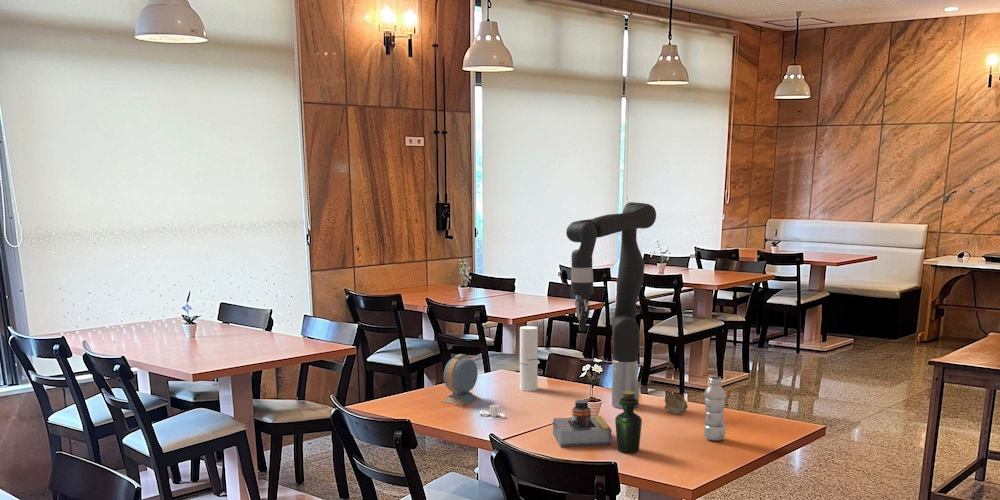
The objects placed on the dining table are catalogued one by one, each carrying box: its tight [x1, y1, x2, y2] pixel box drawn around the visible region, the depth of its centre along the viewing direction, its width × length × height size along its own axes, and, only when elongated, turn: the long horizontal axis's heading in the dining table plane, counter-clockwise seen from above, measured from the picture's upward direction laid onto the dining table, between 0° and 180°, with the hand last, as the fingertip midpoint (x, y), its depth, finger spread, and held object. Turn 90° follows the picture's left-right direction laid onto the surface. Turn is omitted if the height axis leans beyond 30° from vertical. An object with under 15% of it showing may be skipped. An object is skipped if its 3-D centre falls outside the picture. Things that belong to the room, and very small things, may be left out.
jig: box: [552, 415, 613, 448], centre depth 245 cm, size 16×14×6 cm
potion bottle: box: [614, 391, 643, 455], centre depth 234 cm, size 8×8×18 cm
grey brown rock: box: [664, 392, 689, 415], centre depth 276 cm, size 9×7×8 cm
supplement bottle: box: [571, 399, 592, 428], centre depth 245 cm, size 6×6×11 cm
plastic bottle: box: [703, 376, 726, 442], centre depth 244 cm, size 6×7×20 cm
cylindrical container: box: [519, 325, 539, 392], centre depth 308 cm, size 7×7×25 cm
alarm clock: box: [440, 353, 481, 406], centre depth 292 cm, size 14×10×18 cm
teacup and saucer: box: [479, 404, 506, 420], centre depth 272 cm, size 9×8×4 cm
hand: (582, 330), depth 262 cm, fingers closed
